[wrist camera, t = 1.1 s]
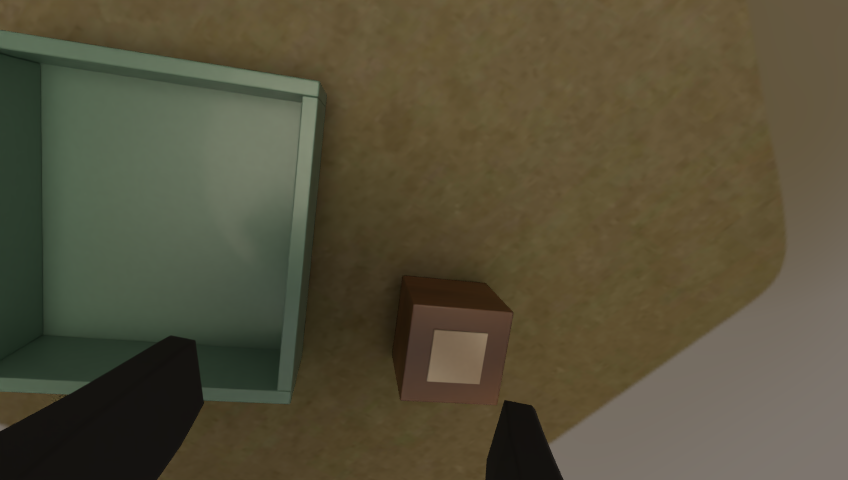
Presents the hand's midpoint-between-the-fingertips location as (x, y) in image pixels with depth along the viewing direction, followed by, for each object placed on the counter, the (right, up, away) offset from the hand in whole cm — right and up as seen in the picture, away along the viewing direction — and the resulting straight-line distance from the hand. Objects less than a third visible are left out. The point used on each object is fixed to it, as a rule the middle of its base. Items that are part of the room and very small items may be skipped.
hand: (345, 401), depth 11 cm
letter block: (+3, -1, +14) cm, 14 cm away
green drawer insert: (-10, +5, +11) cm, 15 cm away
